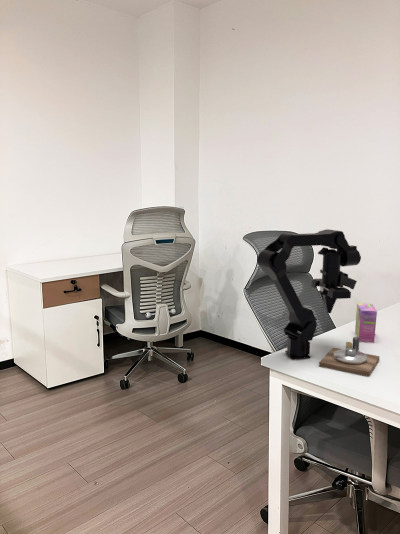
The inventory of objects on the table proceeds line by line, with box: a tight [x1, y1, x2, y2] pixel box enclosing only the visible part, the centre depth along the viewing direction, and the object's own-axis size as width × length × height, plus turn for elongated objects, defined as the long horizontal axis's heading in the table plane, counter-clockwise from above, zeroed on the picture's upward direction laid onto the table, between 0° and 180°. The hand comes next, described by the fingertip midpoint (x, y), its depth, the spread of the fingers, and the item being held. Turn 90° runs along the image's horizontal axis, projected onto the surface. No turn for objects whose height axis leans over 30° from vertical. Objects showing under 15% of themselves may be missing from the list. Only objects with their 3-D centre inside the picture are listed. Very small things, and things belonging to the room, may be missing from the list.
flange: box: [334, 336, 367, 364], centre depth 149 cm, size 12×10×5 cm
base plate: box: [318, 341, 380, 378], centre depth 148 cm, size 15×15×4 cm
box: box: [354, 302, 378, 343], centre depth 173 cm, size 10×6×12 cm, turn 168°
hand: (328, 312), depth 159 cm, fingers closed
